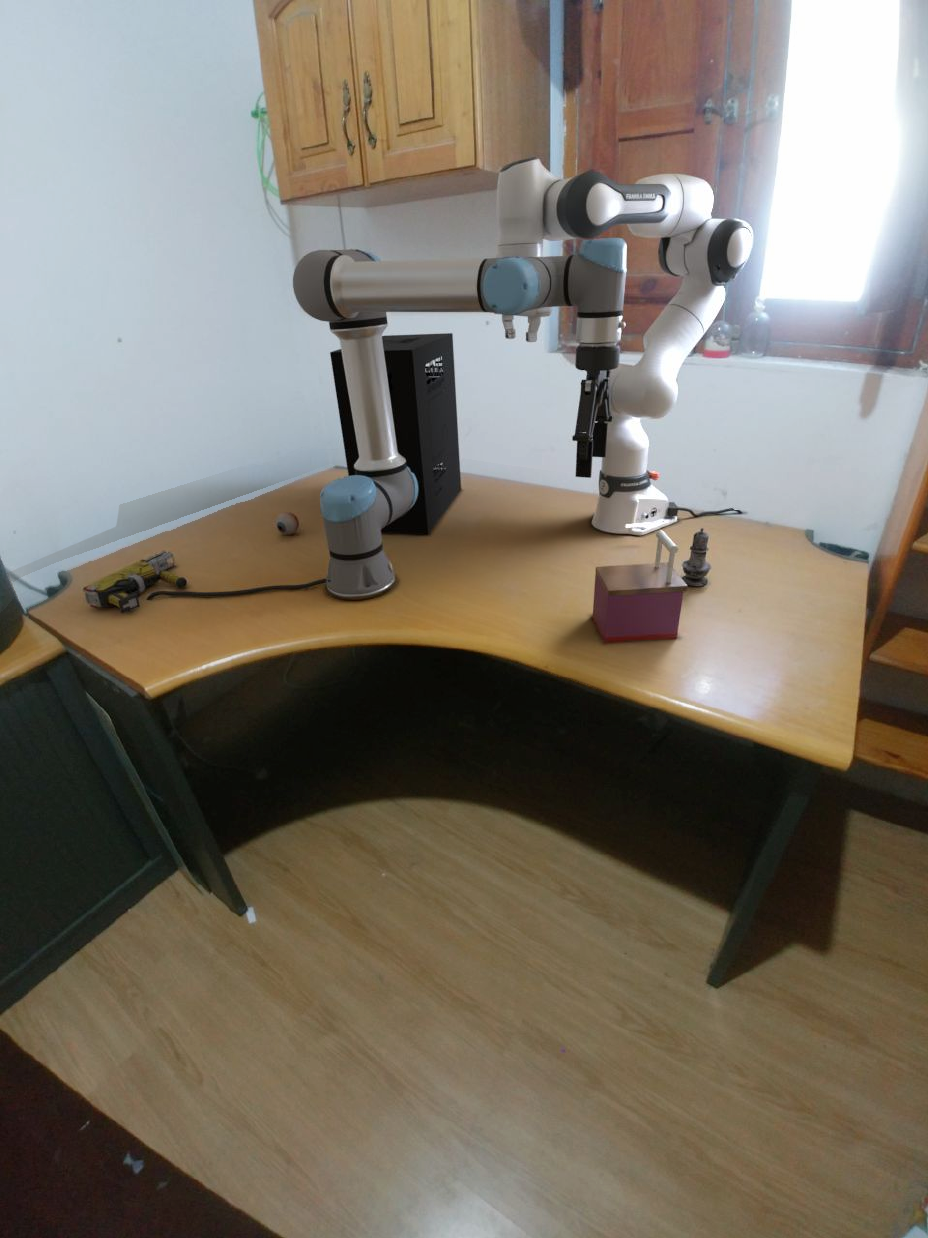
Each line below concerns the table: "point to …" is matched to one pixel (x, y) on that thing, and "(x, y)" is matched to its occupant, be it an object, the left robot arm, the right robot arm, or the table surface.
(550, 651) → the table surface
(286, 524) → the eyeball
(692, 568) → the pewter chess piece
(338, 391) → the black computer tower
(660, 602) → the chest
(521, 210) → the right robot arm
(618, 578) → the lid
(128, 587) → the toy gun
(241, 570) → the table surface
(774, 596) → the table surface
